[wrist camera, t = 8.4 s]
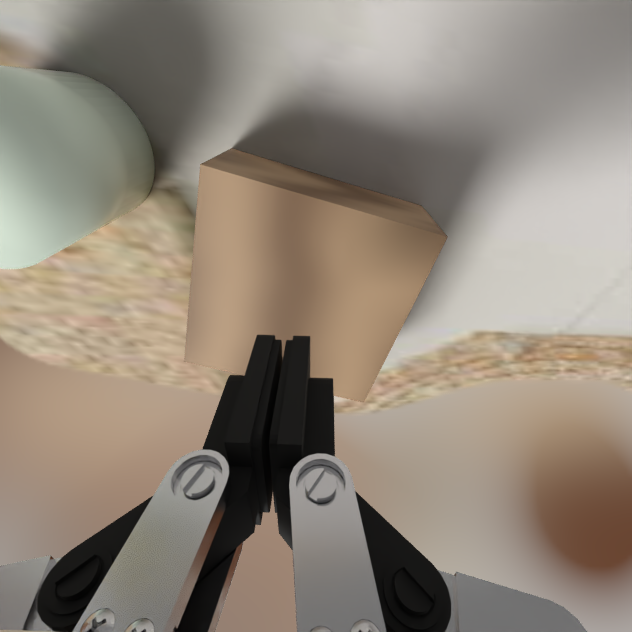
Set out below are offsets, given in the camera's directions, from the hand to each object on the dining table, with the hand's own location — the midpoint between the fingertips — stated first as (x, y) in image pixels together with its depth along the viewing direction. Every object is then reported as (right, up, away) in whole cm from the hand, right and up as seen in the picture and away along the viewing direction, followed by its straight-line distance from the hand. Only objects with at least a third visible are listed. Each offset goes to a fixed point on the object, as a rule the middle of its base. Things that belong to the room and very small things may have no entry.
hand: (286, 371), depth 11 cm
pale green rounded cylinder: (-10, +10, +6) cm, 16 cm away
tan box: (0, +5, +9) cm, 10 cm away
